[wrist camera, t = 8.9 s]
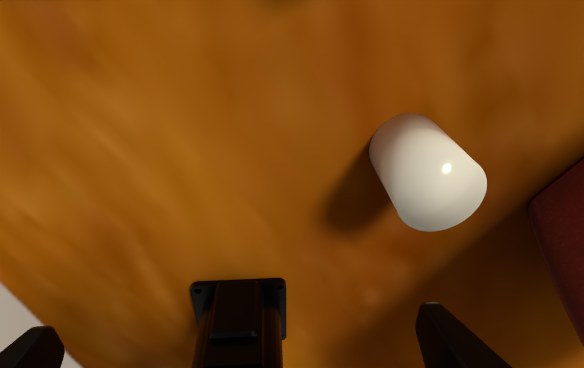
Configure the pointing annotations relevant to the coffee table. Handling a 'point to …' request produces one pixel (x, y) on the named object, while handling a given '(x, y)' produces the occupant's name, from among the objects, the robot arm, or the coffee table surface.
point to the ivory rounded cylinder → (426, 173)
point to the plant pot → (563, 239)
